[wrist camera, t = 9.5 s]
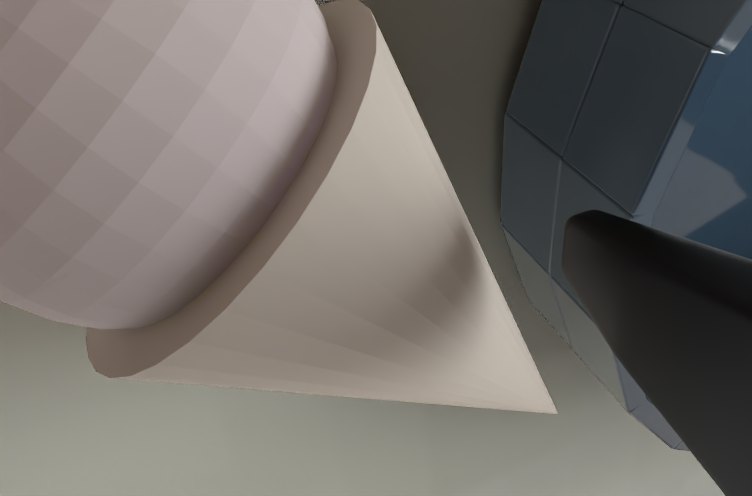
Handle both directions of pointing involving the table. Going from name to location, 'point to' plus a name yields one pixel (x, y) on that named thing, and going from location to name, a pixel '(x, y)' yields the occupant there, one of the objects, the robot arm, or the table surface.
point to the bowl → (627, 147)
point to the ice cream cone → (243, 205)
